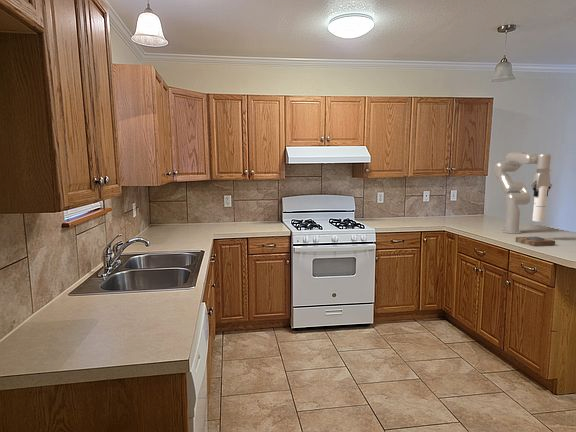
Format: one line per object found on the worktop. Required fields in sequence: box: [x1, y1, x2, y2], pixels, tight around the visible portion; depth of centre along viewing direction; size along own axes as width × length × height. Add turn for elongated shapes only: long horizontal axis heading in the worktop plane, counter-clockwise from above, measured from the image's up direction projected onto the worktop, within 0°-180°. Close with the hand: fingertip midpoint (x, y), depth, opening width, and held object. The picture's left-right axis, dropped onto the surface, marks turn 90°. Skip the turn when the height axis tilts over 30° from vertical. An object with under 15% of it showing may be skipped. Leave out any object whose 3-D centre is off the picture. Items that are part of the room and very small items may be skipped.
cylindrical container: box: [532, 186, 548, 223], centre depth 265 cm, size 7×7×25 cm
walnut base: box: [515, 236, 556, 247], centre depth 254 cm, size 16×16×4 cm
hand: (540, 196), depth 265 cm, fingers closed on cylindrical container, 7 cm apart
